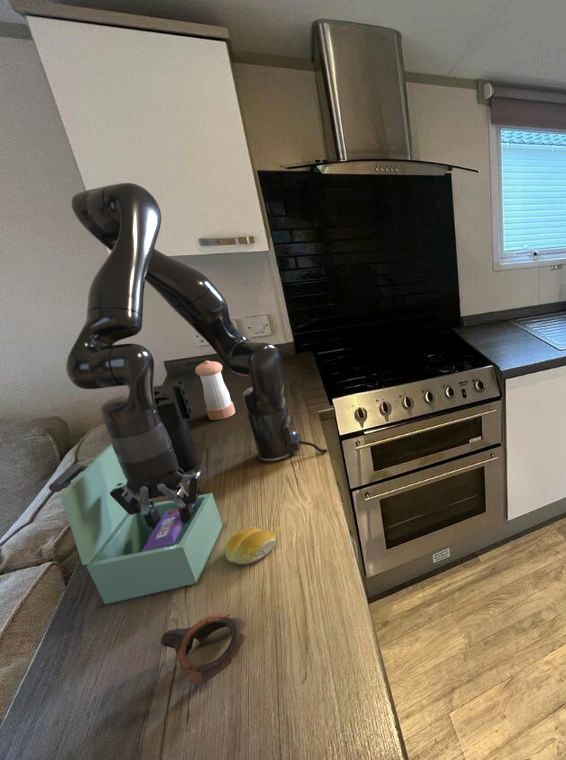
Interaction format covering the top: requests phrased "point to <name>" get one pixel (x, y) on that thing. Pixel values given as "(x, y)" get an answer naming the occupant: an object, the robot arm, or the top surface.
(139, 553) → the box
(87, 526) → the cold box lid
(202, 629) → the brown ring with stub
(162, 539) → the snack package
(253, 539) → the bread roll
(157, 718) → the top surface
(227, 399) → the pepper shaker
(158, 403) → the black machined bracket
